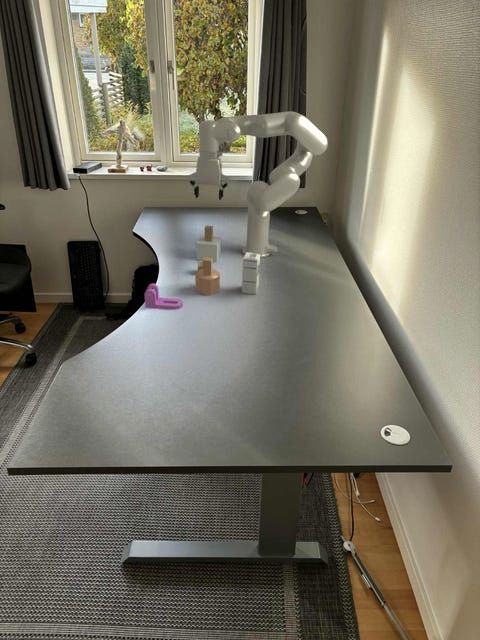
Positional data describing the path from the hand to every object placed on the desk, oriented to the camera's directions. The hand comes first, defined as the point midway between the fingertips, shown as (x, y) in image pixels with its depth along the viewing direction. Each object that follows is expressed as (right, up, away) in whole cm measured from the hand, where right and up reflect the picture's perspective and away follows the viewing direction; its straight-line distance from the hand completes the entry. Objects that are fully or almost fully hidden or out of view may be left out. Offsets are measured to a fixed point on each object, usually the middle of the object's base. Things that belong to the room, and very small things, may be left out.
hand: (208, 197), depth 199 cm
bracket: (-14, -45, -24) cm, 53 cm away
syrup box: (+17, -39, -12) cm, 44 cm away
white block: (-1, -22, +14) cm, 26 cm away
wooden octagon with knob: (0, -38, -13) cm, 40 cm away
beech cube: (-2, -31, 0) cm, 31 cm away
